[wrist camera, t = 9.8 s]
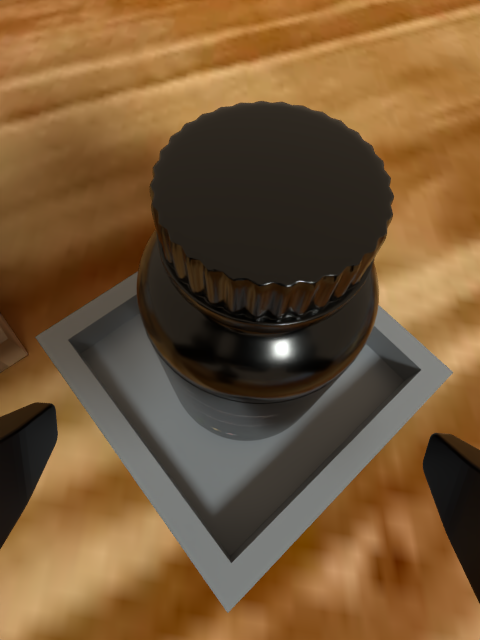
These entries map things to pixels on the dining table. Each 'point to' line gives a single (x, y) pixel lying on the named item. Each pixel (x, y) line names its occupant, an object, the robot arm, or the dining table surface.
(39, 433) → the robot arm
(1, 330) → the walnut collar
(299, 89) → the dining table surface
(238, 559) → the grey tray
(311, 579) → the dining table surface
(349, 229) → the supplement bottle
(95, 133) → the dining table surface
